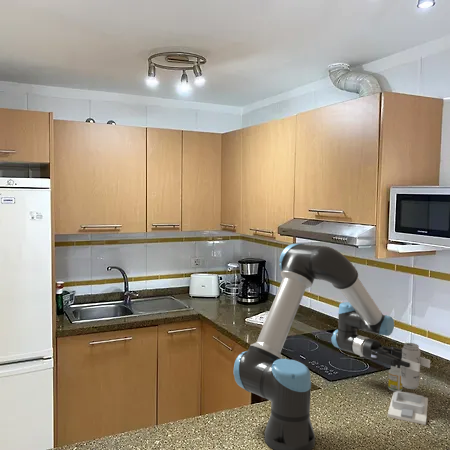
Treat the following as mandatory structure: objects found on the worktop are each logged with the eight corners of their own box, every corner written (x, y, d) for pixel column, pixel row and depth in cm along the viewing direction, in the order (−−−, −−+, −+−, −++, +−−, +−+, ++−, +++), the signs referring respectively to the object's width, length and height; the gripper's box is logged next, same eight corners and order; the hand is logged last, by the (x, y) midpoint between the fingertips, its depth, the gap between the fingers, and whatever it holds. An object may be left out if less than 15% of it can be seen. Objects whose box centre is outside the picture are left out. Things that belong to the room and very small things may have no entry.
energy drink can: (418, 391, 154) (419, 348, 153) (399, 387, 157) (401, 345, 156) (419, 385, 159) (421, 344, 158) (401, 381, 162) (403, 341, 161)
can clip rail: (425, 425, 146) (426, 414, 146) (387, 416, 151) (387, 406, 151) (427, 400, 165) (428, 391, 165) (393, 394, 170) (394, 385, 170)
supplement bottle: (391, 392, 172) (392, 367, 171) (385, 386, 177) (386, 363, 177) (405, 391, 172) (406, 367, 172) (398, 386, 178) (399, 362, 177)
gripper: (381, 352, 178) (438, 370, 159) (352, 362, 166) (409, 382, 148) (382, 334, 177) (438, 350, 159) (352, 342, 166) (409, 360, 148)
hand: (424, 365), depth 153 cm, fingers closed on energy drink can, 6 cm apart
